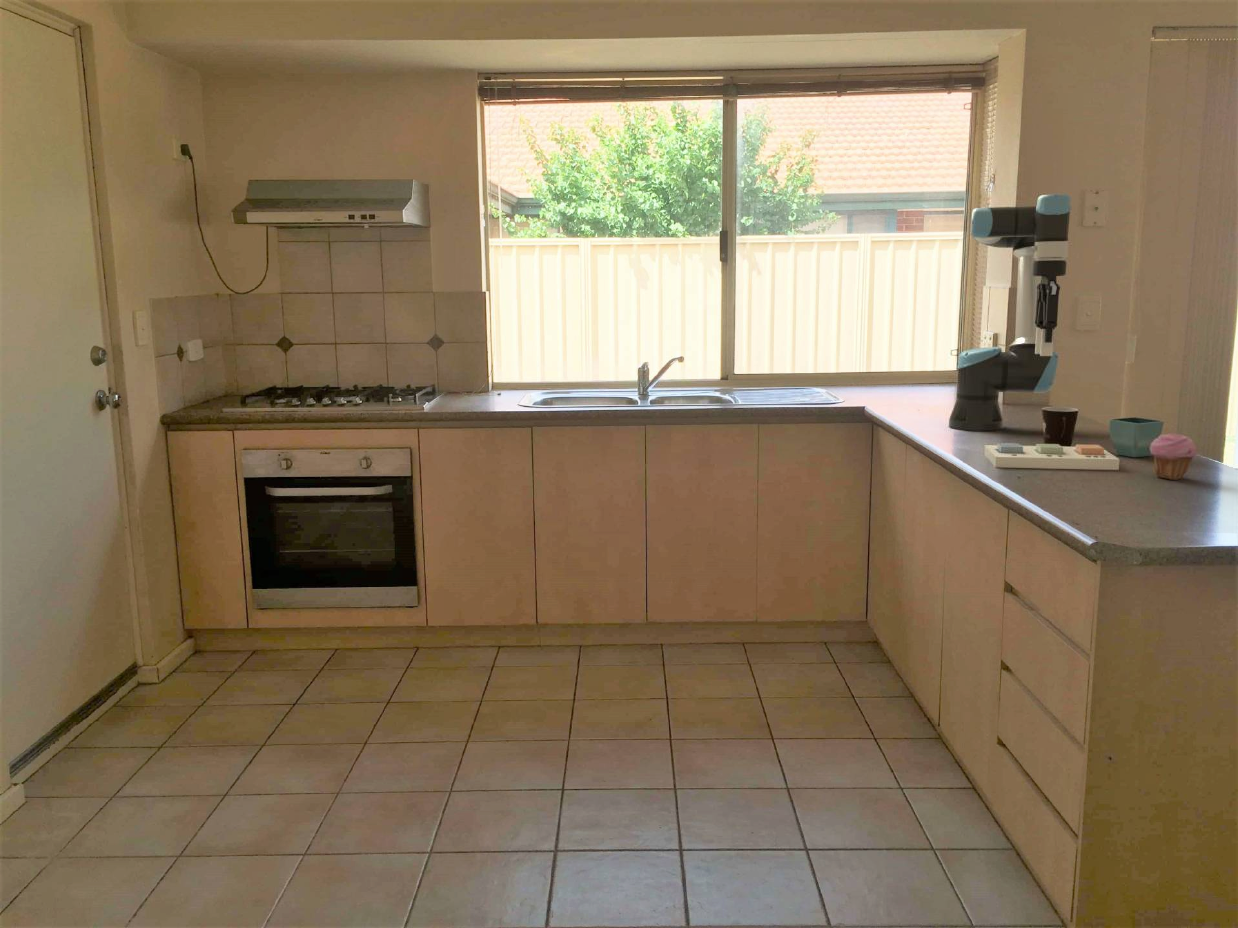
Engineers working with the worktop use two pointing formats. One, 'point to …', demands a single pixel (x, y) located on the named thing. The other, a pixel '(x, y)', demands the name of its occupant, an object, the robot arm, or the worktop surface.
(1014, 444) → the button
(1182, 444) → the cupcake
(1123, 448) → the flower pot
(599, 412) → the worktop surface
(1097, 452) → the button
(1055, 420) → the coffee mug
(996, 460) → the panel
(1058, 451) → the button
